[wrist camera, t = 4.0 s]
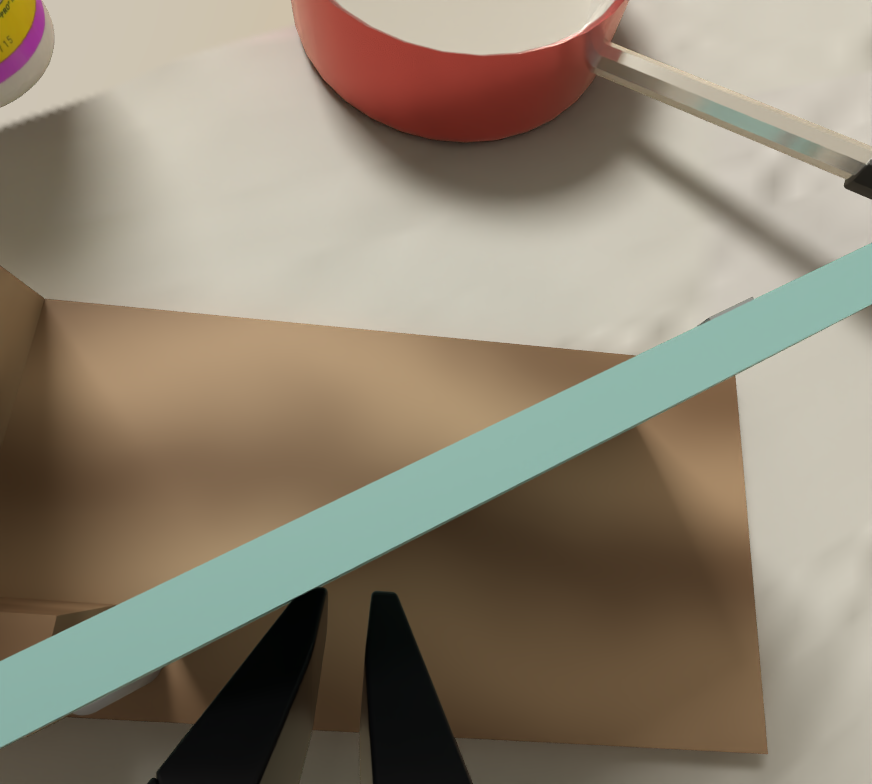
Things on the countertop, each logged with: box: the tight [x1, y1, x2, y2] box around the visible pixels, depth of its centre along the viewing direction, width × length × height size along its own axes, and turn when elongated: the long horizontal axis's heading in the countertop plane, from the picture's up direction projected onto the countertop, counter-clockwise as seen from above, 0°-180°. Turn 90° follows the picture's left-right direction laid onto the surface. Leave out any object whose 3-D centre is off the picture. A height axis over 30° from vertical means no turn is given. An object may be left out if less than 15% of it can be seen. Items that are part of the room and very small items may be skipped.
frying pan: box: [291, 0, 872, 199], centre depth 20 cm, size 32×13×6 cm, turn 60°
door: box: [0, 243, 872, 749], centre depth 12 cm, size 1×17×10 cm, turn 116°
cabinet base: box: [0, 266, 768, 754], centre depth 12 cm, size 12×24×12 cm, turn 86°
